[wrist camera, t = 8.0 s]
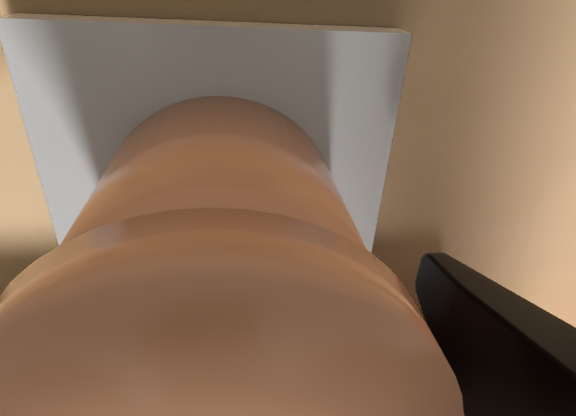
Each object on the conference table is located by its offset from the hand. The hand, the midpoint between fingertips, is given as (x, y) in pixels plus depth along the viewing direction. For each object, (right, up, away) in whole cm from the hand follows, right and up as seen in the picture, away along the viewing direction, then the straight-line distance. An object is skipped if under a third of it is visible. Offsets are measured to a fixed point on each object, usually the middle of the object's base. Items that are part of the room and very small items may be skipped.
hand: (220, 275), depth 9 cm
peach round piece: (0, +1, +3) cm, 3 cm away
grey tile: (0, +2, +3) cm, 4 cm away
